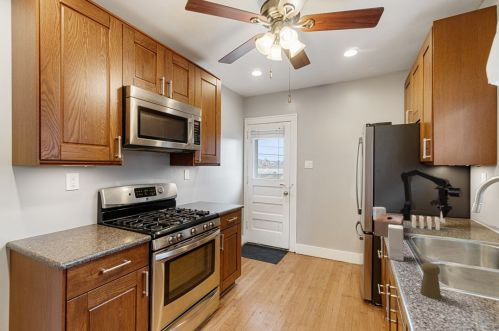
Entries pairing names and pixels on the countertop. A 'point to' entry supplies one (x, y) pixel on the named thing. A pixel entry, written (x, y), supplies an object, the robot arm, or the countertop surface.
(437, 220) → the domino
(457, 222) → the countertop surface
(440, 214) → the domino
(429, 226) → the domino
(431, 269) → the cork
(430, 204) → the robot arm
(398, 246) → the skincare box
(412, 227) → the rubber mat
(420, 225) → the domino
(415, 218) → the white angular block
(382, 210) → the small box
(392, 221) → the tissue box cover
